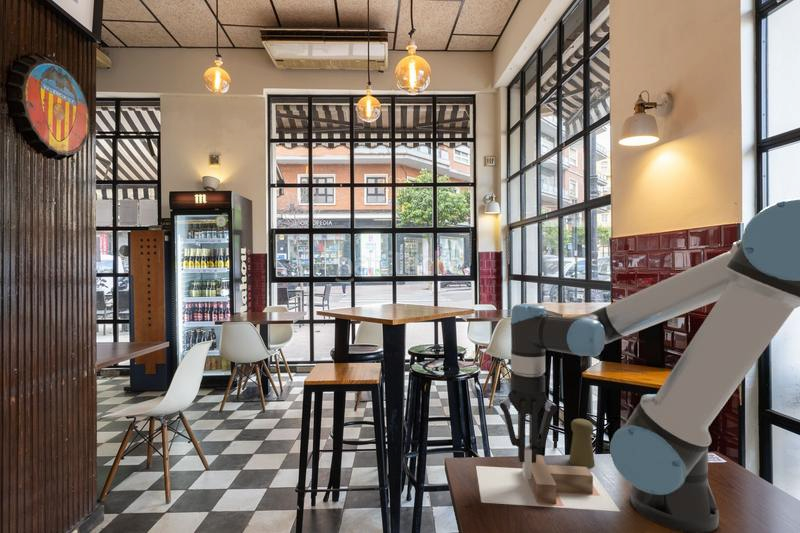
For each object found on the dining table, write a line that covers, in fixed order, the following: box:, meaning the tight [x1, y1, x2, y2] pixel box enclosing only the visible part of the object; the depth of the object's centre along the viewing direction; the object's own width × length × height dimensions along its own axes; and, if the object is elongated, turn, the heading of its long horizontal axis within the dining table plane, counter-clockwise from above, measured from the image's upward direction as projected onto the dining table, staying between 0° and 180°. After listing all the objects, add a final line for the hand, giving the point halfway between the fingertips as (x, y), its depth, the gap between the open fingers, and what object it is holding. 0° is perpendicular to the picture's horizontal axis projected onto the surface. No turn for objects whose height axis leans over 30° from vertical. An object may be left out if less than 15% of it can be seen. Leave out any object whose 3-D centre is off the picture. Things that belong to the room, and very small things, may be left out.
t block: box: [528, 454, 593, 504], centre depth 94 cm, size 13×14×4 cm
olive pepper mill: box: [568, 418, 596, 469], centre depth 106 cm, size 6×6×11 cm
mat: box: [475, 465, 621, 513], centre depth 94 cm, size 28×16×1 cm, turn 84°
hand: (526, 475), depth 95 cm, fingers closed
